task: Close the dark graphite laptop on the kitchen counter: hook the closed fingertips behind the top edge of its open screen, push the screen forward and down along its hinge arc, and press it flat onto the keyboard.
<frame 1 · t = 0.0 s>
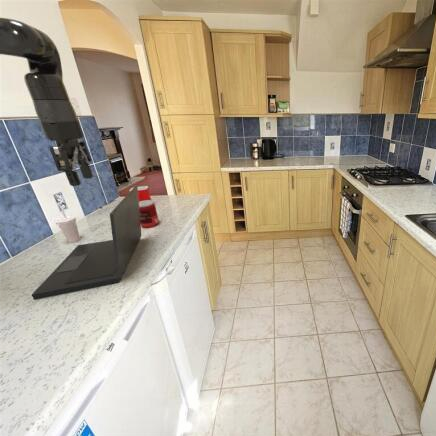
hand: (82, 181, 69), 30 cm above the countertop, tool pointing down, fingers open, 8 cm apart
laptop: (97, 264, 85), on the countertop
canned food: (150, 225, 114), on the countertop
laptop screen: (128, 226, 84), point 12 cm above the countertop, hinge at 100.0°
smoothie: (74, 240, 102), on the countertop
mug: (143, 207, 136), on the countertop
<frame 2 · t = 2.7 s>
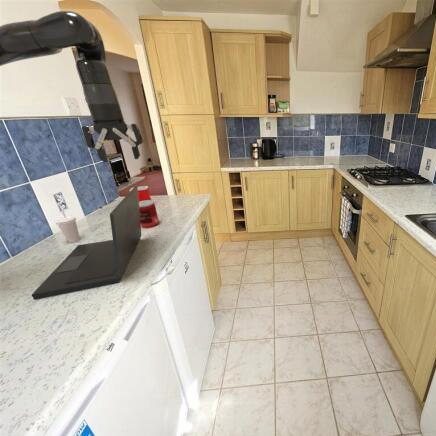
hand: (121, 160, 76), 35 cm above the countertop, tool pointing down, fingers open, 8 cm apart
nothing on the countertop moved.
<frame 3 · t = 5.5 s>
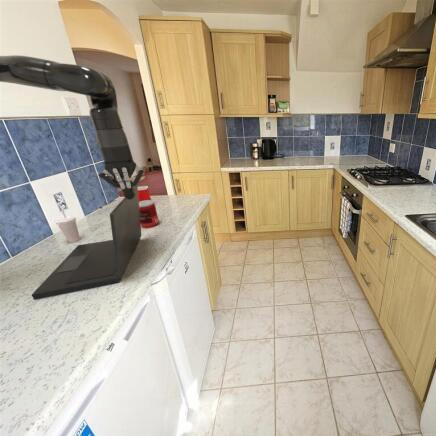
hand: (130, 198, 80), 22 cm above the countertop, tool pointing down, fingers closed
laptop screen: (128, 226, 84), point 12 cm above the countertop, hinge at 100.0°, touching gripper
everything else where it was.
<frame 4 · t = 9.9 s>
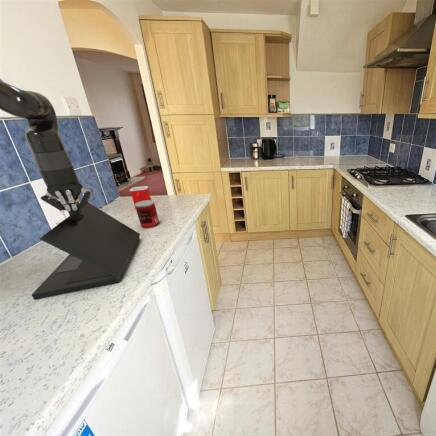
hand: (78, 220, 78), 17 cm above the countertop, tool pointing down, fingers closed
laptop screen: (101, 236, 82), point 10 cm above the countertop, hinge at 50.1°, touching gripper
everything else where it was.
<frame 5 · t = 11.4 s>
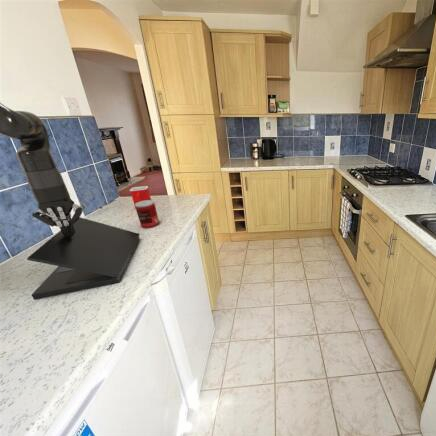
hand: (70, 235, 79), 12 cm above the countertop, tool pointing down, fingers closed
laptop screen: (95, 244, 82), point 8 cm above the countertop, hinge at 30.8°, touching gripper
everything else where it was.
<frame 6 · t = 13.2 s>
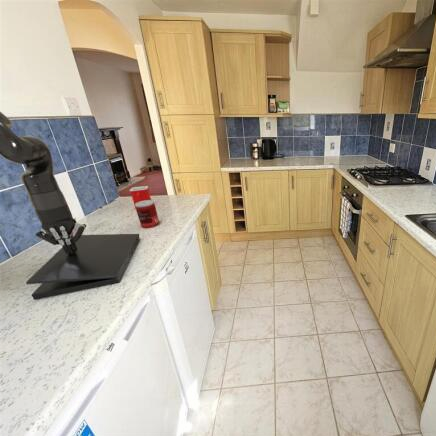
hand: (72, 253, 81), 6 cm above the countertop, tool pointing down, fingers closed
laptop screen: (93, 254, 83), point 4 cm above the countertop, hinge at 9.5°, touching gripper
everything else where it was.
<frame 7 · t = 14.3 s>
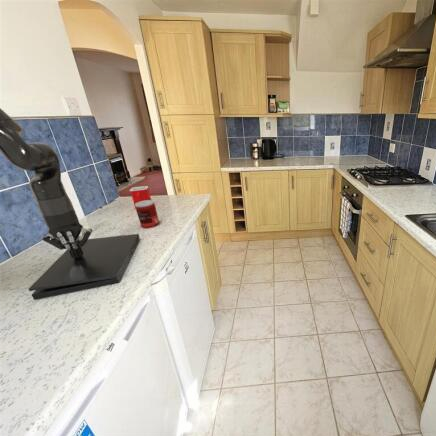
hand: (78, 257, 82), 4 cm above the countertop, tool pointing down, fingers closed
laptop screen: (94, 257, 84), point 3 cm above the countertop, hinge at 3.2°, touching gripper, laptop
everything else where it was.
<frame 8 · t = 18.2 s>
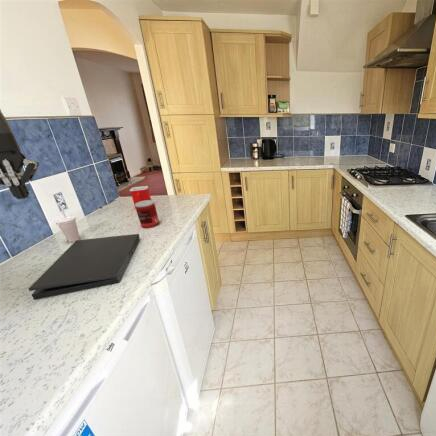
hand: (22, 198, 67), 27 cm above the countertop, tool pointing down, fingers closed
laptop screen: (94, 257, 84), point 3 cm above the countertop, hinge at 3.4°, touching laptop
everything else where it was.
at the end: laptop screen at +3° (first picture: +100°) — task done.
